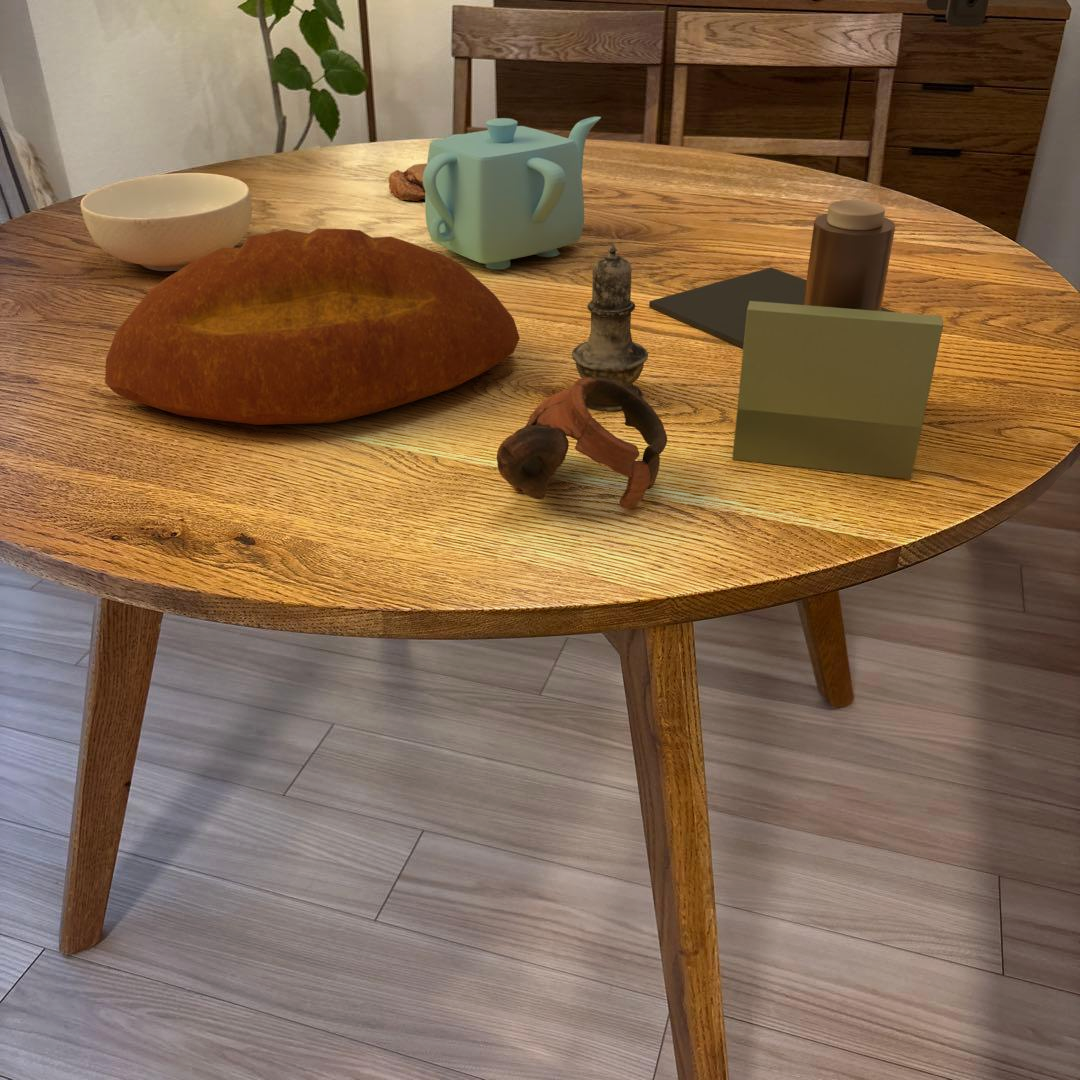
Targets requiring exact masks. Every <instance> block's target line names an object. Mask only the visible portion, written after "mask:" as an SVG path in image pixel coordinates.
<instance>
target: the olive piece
mask: <svg viewBox="0 0 1080 1080" xmlns="http://www.w3.org/2000/svg"><path fill="white" fill-rule="evenodd" d="M943 329H944V321H943V315H934V314H921V313H910V312H897V311H894V312H885V311H872V310H859V309H846V308H834V307H821V306H808V305H795V304H783V303H770V302H757V301H749V305H748V308H747V316H746V326H745V336H744V346H743V348H742V357H741V368H740V377H739V387H738V397H737V407H736V416H735V428H734V437H733V446H732V458H731V459H732V460H733V461H742V462H743V461H744V462H754V463H760V464H761V463H762V464H770V465H771V464H772V465H780V466H788V467H795V468H796V467H797V468H805V469H806V468H807V469H815V470H825V471H832V472H840V473H851V474H858V475H869V476H877V477H886V478H894V479H904V480H912V478H913V472H914V468H915V463H916V458H917V454H918V453H917V452H918V449H919V443H920V439H921V435H922V430H923V425H924V420H925V416H926V410H927V405H928V401H929V396H930V392H931V386H932V382H933V376H934V372H935V368H936V362H937V357H938V354H939V353H938V352H939V349H940V343H941V340H942V339H941V338H942V333H943Z"/></svg>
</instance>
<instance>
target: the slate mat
mask: <svg viewBox="0 0 1080 1080" xmlns="http://www.w3.org/2000/svg"><path fill="white" fill-rule="evenodd" d="M806 281H807V279H804V278H802V277H799V276H797V275H793V274H791V273H789V272H785V271H782V270H779V269H777V268H774V267H771V266H770V267H766V268H764V269H763V268H762V269H759V270H756V271H752V272H750V273H746V274H742V275H738V276H735V277H732V278H731V277H730V278H728V279H724V280H720V281H717V282H713V283H710V284H706V285H702V286H699V287H695V288H691V289H688V290H685V291H680V292H677V293H674V294H671V295H667V296H662V297H660V298H656V299H652V300H649V301H648V302H649V304H648V307H649V308H651V309H653V310H655V311H657V312H658V313H659V312H660V313H662V314H664V315H666V316H669V317H670V318H673V319H675V320H677V321H679V322H682V323H685V324H686V325H688V326H691V327H692V328H693V327H694V328H695V329H698V330H700V331H702V332H704V333H706V334H709V335H711V336H713V337H715V338H718V339H720V340H723V341H725V342H727V343H729V344H732V345H734V346H736V347H738V348H740V349H743V346H744V336H745V326H746V316H747V308H748V305H749V301H757V302H770V303H783V304H795V305H803V304H804V296H805V288H806ZM881 311H885V312H895V311H894V310H891V309H888V308H885V307H883V306H882V307H881Z"/></svg>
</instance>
